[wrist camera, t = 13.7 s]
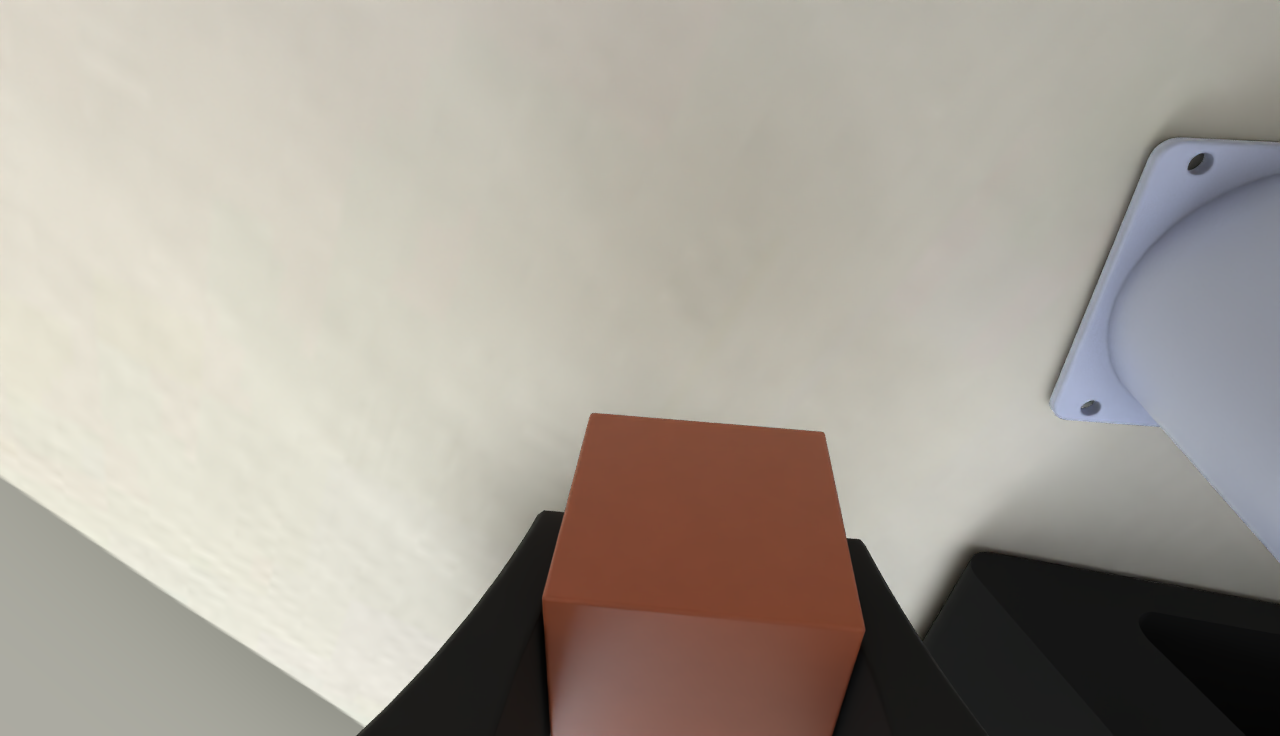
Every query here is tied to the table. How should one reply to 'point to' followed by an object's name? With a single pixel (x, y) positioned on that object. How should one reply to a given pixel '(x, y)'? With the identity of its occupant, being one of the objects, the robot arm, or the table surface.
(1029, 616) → the device stand
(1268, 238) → the robot arm
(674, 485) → the block
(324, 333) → the table surface
